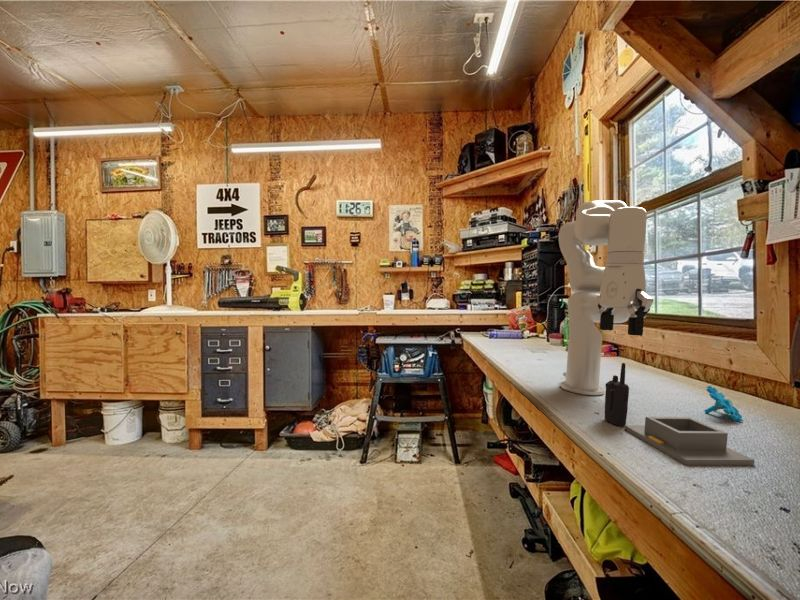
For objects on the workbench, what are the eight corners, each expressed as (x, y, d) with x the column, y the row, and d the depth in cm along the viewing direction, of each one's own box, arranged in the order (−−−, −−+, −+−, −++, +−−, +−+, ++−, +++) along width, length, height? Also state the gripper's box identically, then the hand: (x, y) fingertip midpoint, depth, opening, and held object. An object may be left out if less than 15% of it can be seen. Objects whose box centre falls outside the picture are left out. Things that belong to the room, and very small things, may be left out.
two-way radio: (629, 427, 83) (634, 364, 83) (613, 427, 83) (617, 364, 82) (612, 418, 89) (616, 359, 88) (596, 418, 88) (600, 359, 87)
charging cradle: (624, 429, 82) (625, 410, 82) (680, 430, 83) (681, 411, 83) (685, 465, 66) (687, 441, 66) (754, 465, 67) (756, 441, 67)
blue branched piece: (739, 419, 87) (706, 384, 93) (714, 430, 90) (684, 395, 96) (750, 418, 93) (719, 384, 99) (727, 428, 96) (698, 395, 102)
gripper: (587, 262, 92) (583, 327, 93) (637, 256, 75) (631, 337, 75) (614, 264, 93) (610, 328, 93) (670, 258, 75) (664, 338, 76)
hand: (619, 332), depth 84 cm, fingers open, 9 cm apart
